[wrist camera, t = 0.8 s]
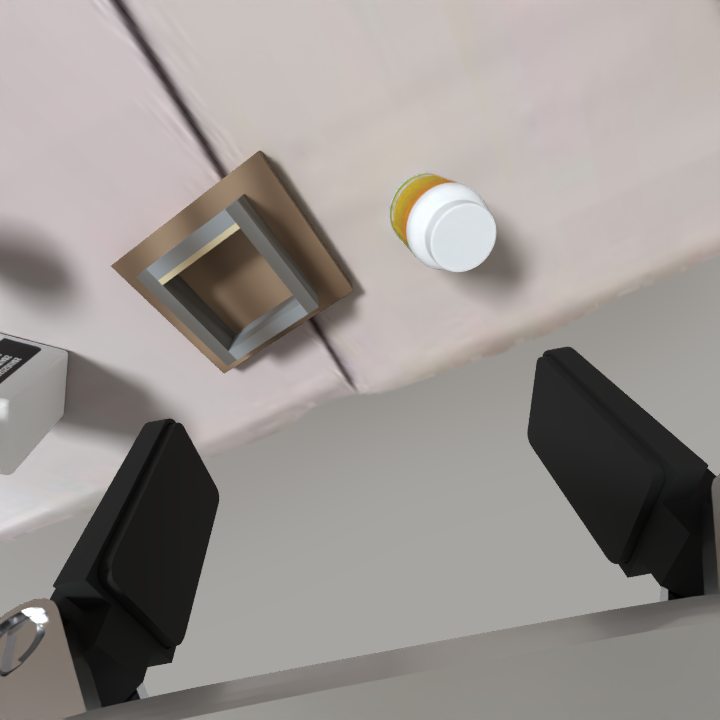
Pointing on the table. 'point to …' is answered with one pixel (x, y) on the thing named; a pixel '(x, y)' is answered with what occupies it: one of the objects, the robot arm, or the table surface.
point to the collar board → (236, 266)
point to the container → (28, 397)
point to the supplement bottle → (443, 222)
